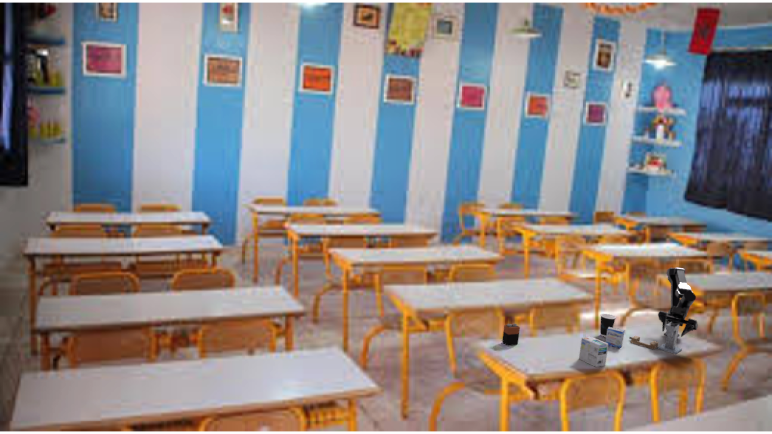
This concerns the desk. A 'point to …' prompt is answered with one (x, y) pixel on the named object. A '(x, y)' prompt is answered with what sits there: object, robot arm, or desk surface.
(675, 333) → the grey stone block
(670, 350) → the mat
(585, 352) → the light bulb box
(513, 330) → the battery
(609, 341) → the medicine box
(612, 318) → the dixie cup
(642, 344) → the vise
